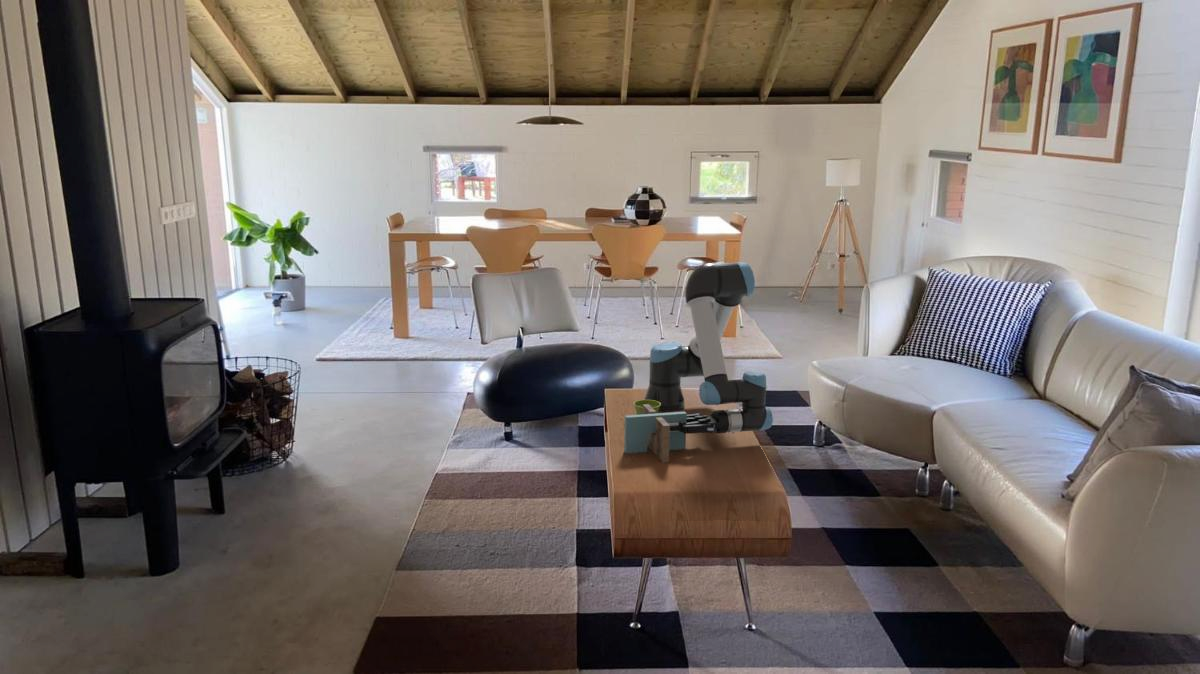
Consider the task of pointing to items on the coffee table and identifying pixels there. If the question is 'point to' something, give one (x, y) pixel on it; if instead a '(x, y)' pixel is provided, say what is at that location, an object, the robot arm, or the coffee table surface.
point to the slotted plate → (651, 431)
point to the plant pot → (652, 403)
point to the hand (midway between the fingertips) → (657, 426)
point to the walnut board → (658, 436)
